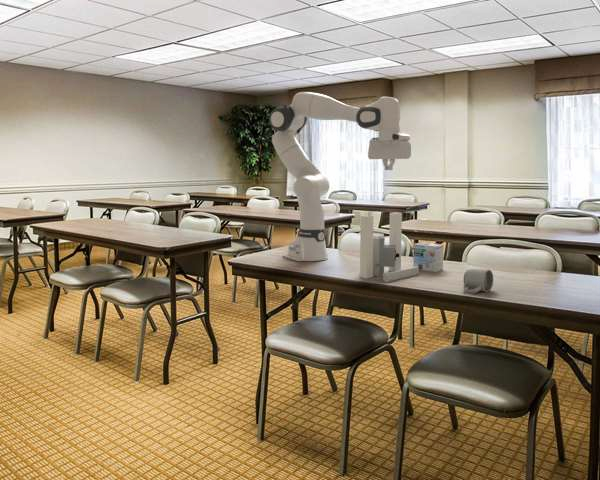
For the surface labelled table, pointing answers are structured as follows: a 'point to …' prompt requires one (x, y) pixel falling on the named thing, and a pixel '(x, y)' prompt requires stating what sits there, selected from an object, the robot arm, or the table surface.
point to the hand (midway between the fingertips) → (388, 170)
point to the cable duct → (400, 273)
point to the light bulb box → (428, 256)
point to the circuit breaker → (382, 255)
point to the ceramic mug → (478, 280)
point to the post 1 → (366, 247)
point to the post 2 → (396, 237)
